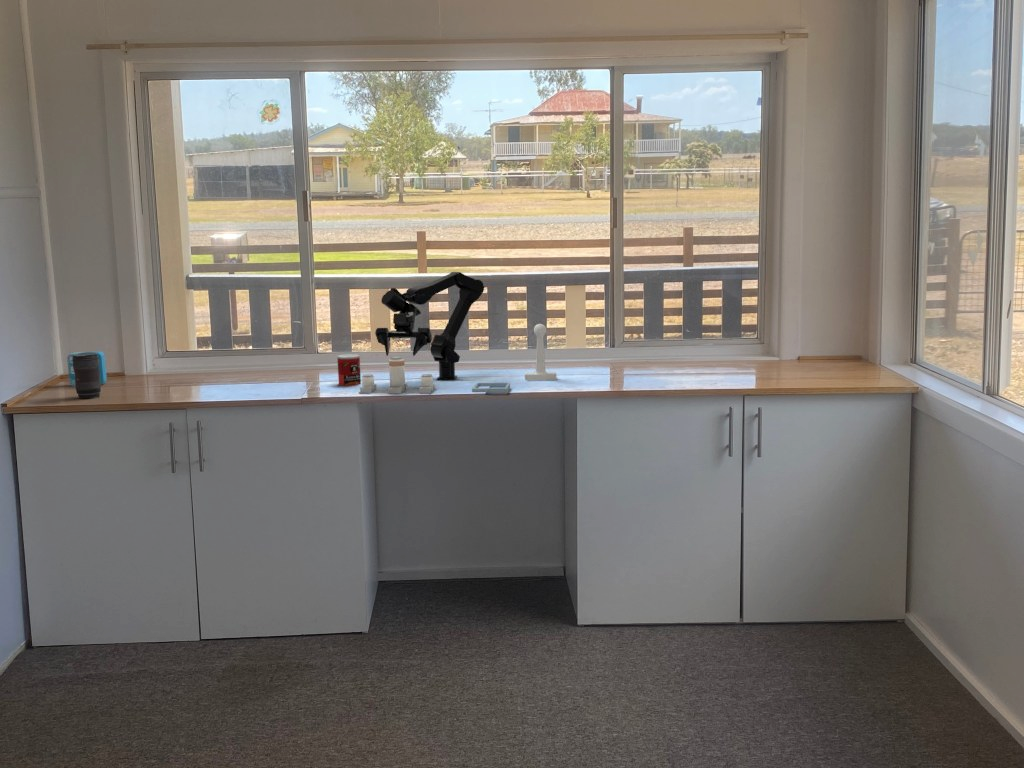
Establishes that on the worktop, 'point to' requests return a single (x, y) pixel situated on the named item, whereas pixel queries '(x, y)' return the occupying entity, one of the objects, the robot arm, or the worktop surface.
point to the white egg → (368, 381)
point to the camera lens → (87, 374)
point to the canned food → (349, 370)
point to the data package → (101, 367)
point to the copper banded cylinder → (397, 372)
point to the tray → (492, 388)
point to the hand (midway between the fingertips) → (400, 355)
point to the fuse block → (397, 390)
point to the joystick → (540, 358)
